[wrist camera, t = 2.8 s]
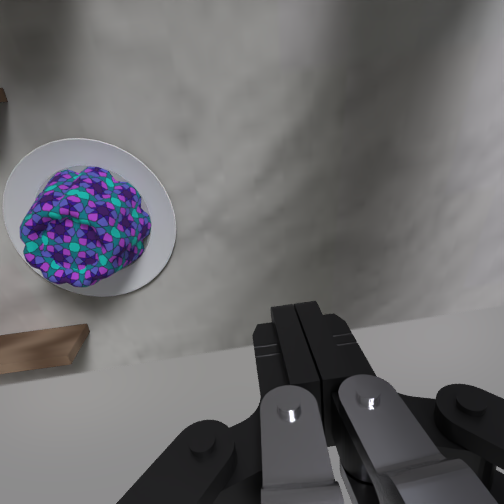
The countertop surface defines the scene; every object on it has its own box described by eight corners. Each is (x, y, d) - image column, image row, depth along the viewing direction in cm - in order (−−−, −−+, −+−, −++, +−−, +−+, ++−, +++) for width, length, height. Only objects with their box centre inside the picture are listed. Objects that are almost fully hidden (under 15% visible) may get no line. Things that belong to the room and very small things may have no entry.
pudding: (189, 159, 25) (182, 173, 21) (165, 303, 30) (154, 342, 25) (6, 117, 23) (-49, 122, 19) (9, 277, 28) (-35, 315, 23)
